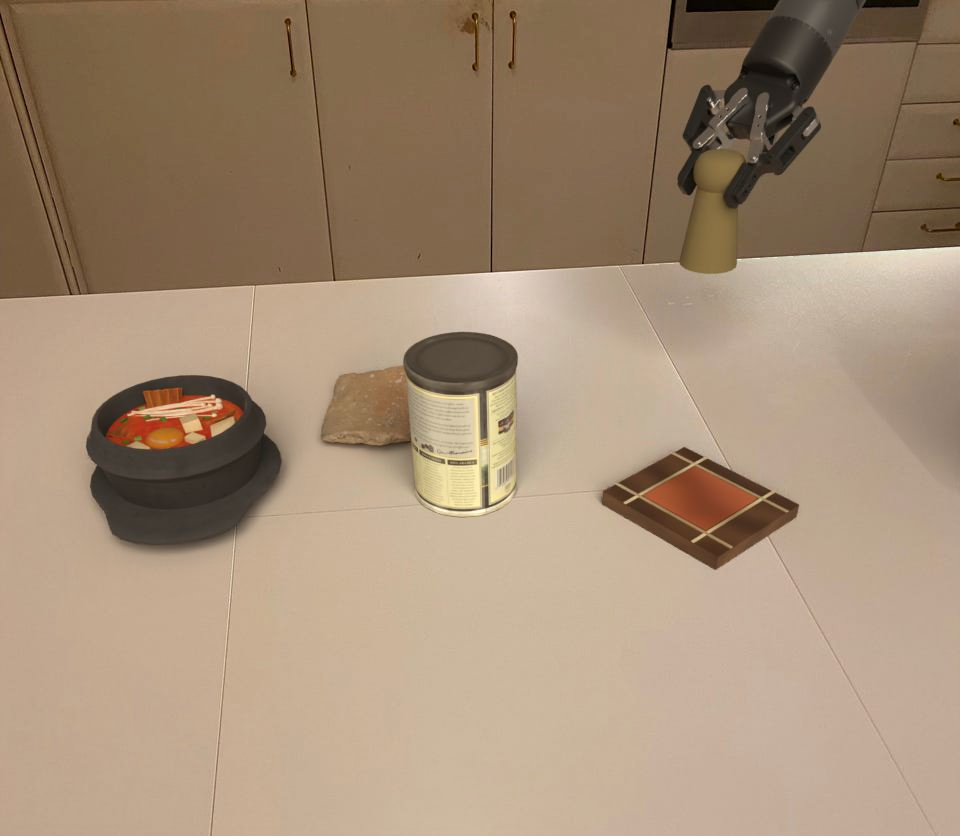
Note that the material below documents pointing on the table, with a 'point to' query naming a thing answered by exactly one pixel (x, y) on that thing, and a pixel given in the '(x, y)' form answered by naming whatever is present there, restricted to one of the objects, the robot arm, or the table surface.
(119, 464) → the casserole
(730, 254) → the pawn
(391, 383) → the stone
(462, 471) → the coffee can
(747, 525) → the grid board
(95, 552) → the table surface
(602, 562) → the table surface
